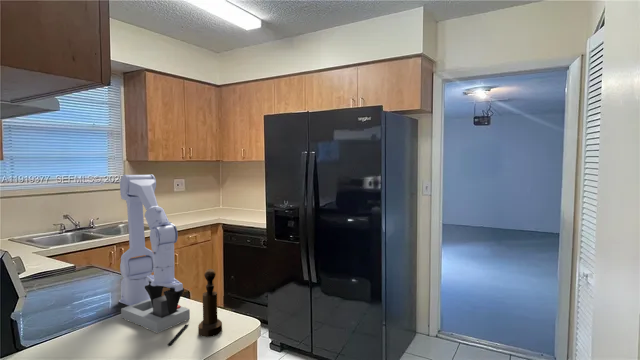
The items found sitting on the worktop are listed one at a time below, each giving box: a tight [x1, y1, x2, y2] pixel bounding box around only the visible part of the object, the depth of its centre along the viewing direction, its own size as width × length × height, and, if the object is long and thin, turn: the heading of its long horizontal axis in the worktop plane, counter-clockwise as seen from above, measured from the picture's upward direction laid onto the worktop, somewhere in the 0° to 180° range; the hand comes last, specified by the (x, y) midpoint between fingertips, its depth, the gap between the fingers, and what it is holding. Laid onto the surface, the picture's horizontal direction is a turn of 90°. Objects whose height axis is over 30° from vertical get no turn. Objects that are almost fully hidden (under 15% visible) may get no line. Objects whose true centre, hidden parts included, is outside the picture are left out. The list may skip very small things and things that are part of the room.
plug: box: [153, 295, 173, 318], centre depth 107 cm, size 4×4×7 cm
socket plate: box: [120, 299, 191, 333], centre depth 110 cm, size 18×11×4 cm, turn 59°
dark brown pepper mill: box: [197, 268, 223, 338], centre depth 101 cm, size 7×6×18 cm
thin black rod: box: [167, 323, 189, 347], centre depth 100 cm, size 12×1×1 cm, turn 179°
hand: (164, 309), depth 108 cm, fingers open, 7 cm apart
